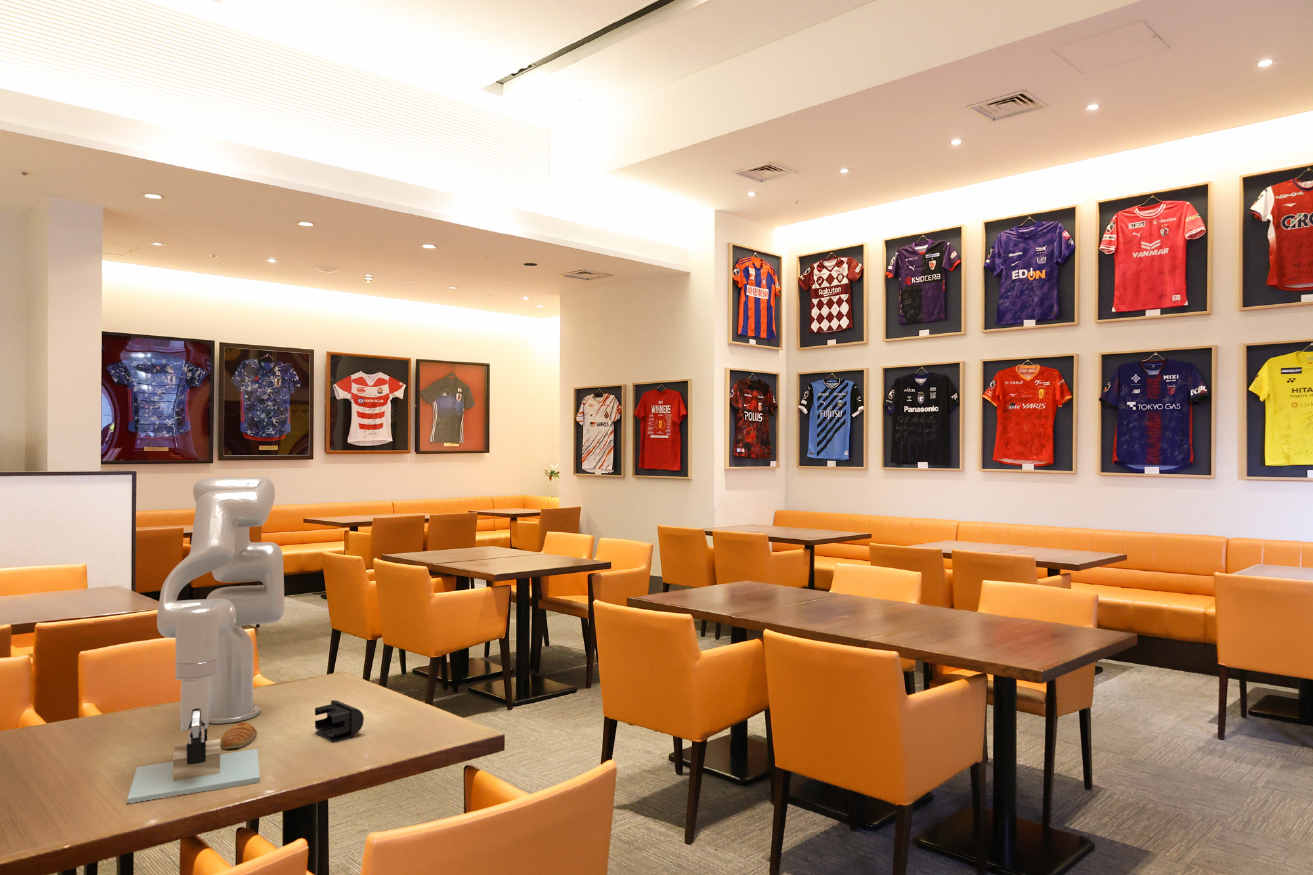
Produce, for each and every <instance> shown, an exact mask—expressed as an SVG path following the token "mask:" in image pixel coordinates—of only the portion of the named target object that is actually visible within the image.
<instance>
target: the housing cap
mask: <svg viewBox="0 0 1313 875" xmlns="http://www.w3.org/2000/svg"><path fill="white" fill-rule="evenodd" d="M220 754H221V738H217V739H216V738H215V739H210V740H208V739H207V741H206V761H205V762H204V763H197V764H191V765H188V764H187V743H182V744H175V746H174V749H173V754H172V755H173V758H172V759H173V760H172V762H173V781H174V780H180V779H187V778H193V777H199V776H205V775H212V774H218V773H220Z"/></svg>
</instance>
